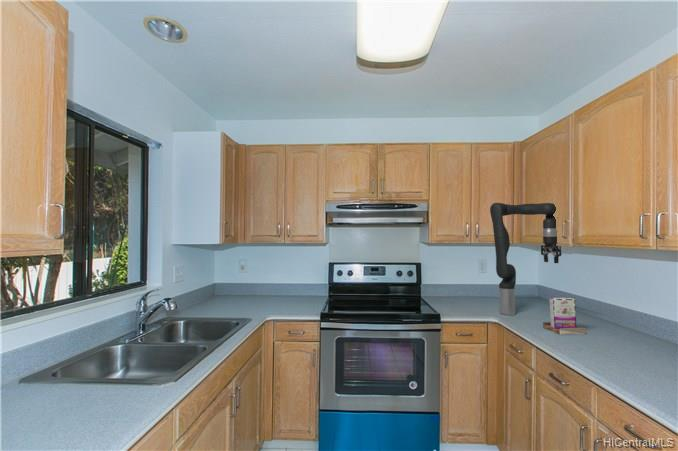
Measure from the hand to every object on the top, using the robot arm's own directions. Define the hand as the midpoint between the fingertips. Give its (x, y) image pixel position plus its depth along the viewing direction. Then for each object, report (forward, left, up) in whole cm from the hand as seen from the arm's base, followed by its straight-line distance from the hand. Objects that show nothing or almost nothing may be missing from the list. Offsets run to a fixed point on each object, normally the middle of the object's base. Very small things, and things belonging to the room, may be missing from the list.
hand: (551, 262), depth 196 cm
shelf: (+16, -6, -36) cm, 40 cm away
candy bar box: (+16, -6, -35) cm, 39 cm away
